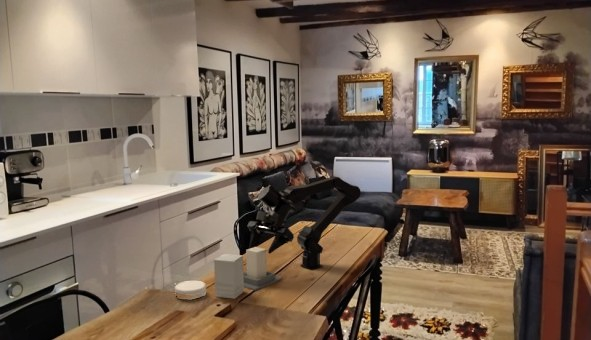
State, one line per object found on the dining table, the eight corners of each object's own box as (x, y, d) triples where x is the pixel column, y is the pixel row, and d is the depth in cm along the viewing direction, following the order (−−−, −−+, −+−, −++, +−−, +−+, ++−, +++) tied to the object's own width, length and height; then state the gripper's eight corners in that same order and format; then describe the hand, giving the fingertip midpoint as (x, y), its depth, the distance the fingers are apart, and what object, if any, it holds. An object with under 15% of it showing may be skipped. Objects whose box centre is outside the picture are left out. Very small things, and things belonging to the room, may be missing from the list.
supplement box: (244, 291, 159) (244, 255, 158) (234, 299, 152) (234, 261, 151) (224, 288, 162) (224, 253, 160) (214, 296, 155) (213, 259, 153)
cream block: (256, 276, 173) (256, 246, 171) (266, 279, 170) (266, 249, 168) (246, 279, 169) (246, 249, 168) (256, 282, 166) (256, 252, 164)
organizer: (257, 272, 178) (257, 265, 178) (281, 279, 171) (281, 272, 171) (230, 282, 168) (230, 275, 167) (255, 290, 160) (254, 283, 160)
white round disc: (190, 303, 150) (190, 292, 149) (168, 297, 155) (168, 286, 155) (212, 293, 158) (212, 283, 158) (190, 287, 163) (190, 278, 163)
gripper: (249, 199, 177) (229, 234, 170) (288, 205, 165) (267, 242, 158) (264, 216, 184) (245, 250, 177) (302, 223, 172) (283, 260, 165)
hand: (259, 250), depth 169 cm, fingers open, 9 cm apart
